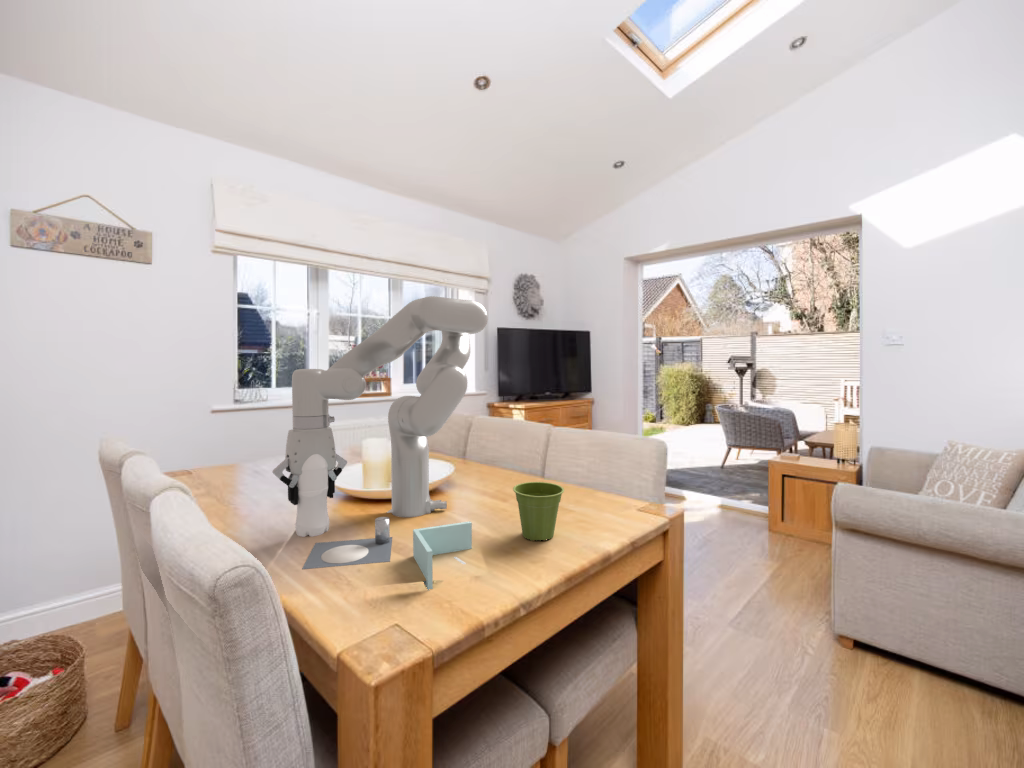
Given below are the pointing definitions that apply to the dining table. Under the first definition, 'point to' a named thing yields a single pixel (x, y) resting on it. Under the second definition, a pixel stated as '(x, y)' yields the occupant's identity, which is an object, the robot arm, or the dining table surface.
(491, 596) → the dining table surface
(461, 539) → the right angle wall
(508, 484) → the dining table surface
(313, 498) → the water bottle
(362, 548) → the board
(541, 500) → the plant pot
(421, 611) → the dining table surface
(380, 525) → the metal post
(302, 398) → the robot arm
